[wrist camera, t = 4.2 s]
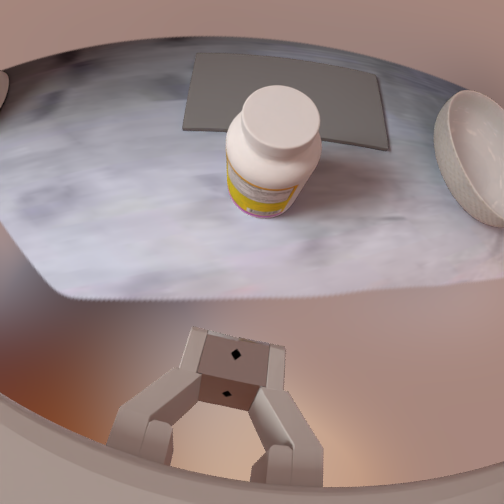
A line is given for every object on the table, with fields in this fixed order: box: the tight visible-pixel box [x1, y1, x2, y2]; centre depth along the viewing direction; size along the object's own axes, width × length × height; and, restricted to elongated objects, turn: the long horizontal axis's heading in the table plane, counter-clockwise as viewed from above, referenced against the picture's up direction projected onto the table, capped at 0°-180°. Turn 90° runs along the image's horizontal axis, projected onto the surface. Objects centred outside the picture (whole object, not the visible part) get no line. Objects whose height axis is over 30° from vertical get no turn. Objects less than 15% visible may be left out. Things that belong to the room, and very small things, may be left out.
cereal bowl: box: [434, 90, 504, 227], centre depth 29 cm, size 17×17×7 cm
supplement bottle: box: [226, 85, 322, 218], centre depth 23 cm, size 7×7×13 cm
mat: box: [182, 53, 388, 151], centre depth 31 cm, size 22×11×1 cm, turn 87°
